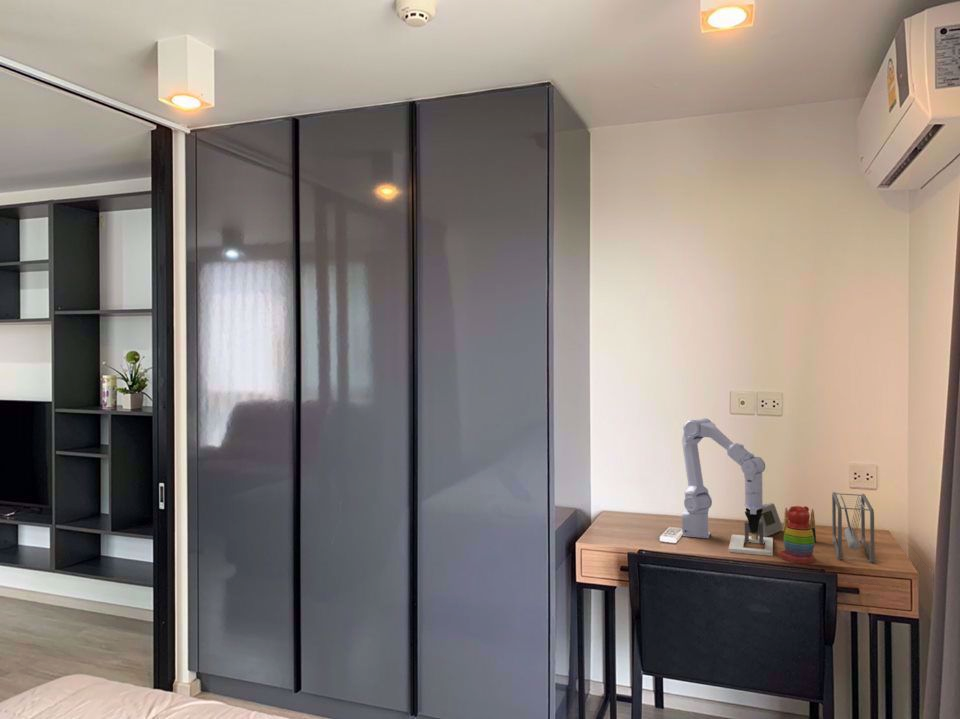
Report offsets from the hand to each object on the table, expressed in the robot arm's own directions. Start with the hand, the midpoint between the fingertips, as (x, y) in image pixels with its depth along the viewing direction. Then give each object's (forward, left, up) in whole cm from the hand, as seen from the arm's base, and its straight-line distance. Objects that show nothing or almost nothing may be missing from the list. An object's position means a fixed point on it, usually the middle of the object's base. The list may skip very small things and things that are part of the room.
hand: (754, 530), depth 244 cm
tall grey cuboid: (0, 0, -4) cm, 4 cm away
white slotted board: (-1, +2, -6) cm, 7 cm away
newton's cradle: (+31, +8, -6) cm, 33 cm away
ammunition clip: (+15, +16, -6) cm, 23 cm away
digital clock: (+4, +23, -6) cm, 24 cm away
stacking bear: (+14, -9, -6) cm, 18 cm away
